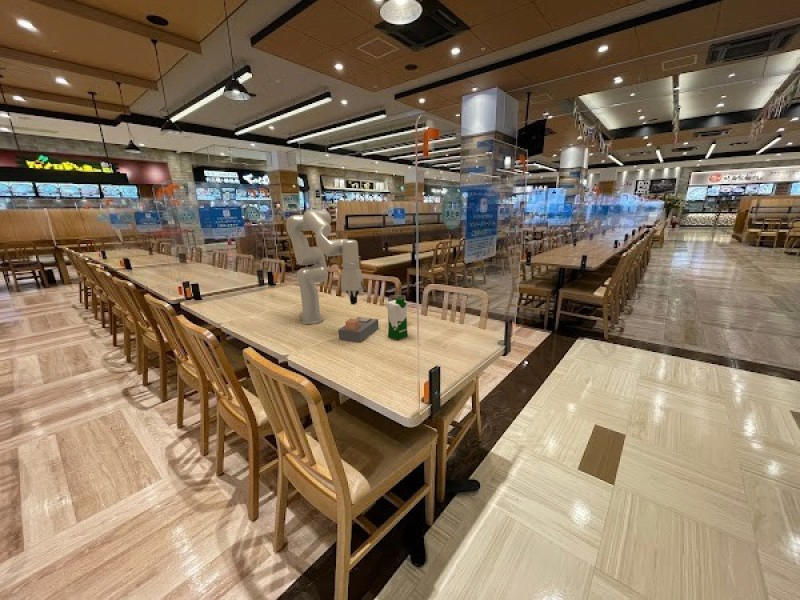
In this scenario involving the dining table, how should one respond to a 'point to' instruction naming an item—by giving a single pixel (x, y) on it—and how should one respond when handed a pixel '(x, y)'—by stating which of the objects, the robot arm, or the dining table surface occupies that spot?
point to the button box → (359, 331)
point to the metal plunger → (365, 320)
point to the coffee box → (393, 297)
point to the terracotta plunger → (352, 324)
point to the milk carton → (397, 318)
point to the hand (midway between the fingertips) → (353, 303)
